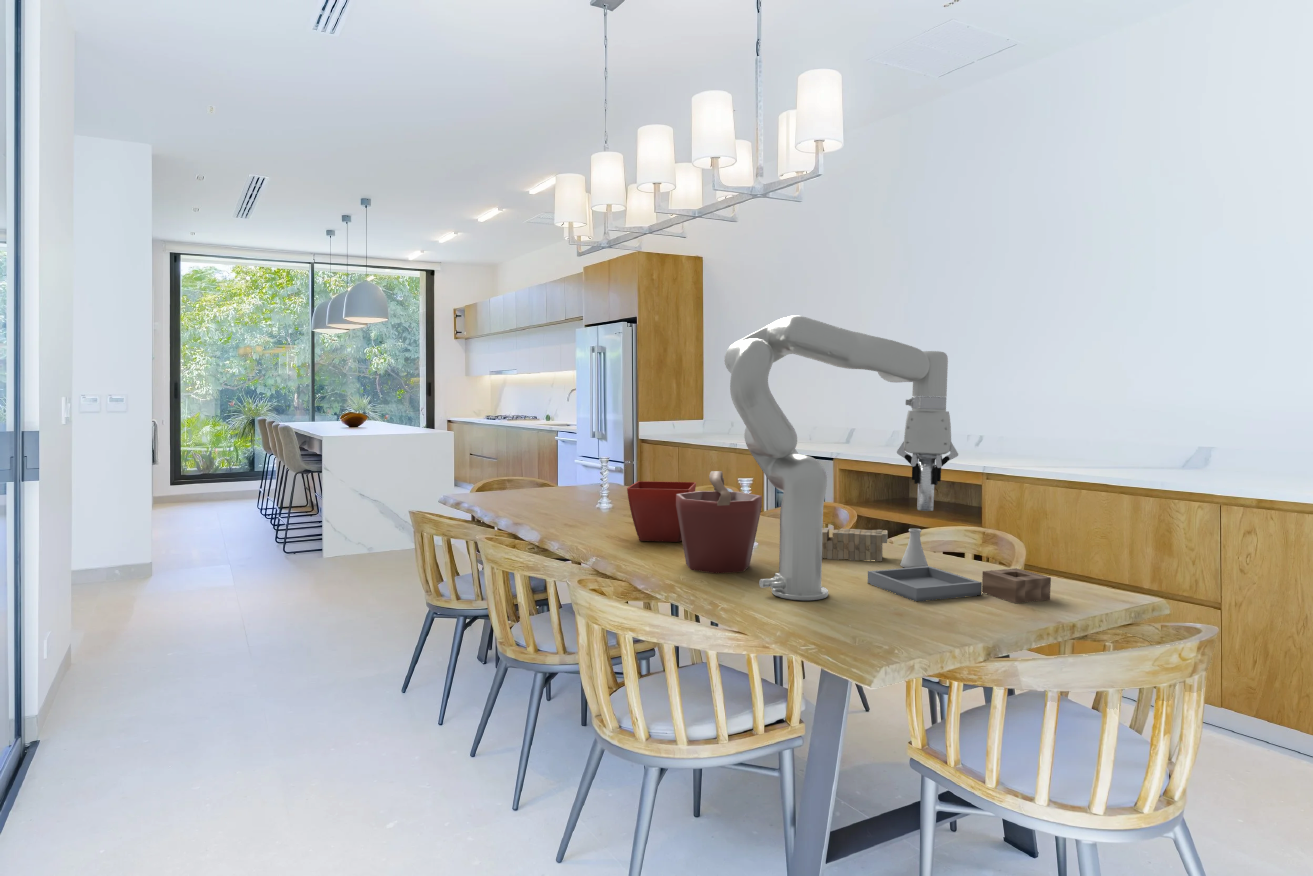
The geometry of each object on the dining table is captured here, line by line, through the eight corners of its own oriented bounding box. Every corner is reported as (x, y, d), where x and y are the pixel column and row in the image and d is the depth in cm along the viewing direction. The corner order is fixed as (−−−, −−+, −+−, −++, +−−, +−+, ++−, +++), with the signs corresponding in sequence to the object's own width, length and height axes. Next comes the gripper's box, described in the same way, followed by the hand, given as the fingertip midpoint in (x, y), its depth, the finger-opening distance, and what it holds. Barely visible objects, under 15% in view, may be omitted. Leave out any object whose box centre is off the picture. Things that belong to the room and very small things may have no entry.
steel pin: (923, 511, 184) (925, 454, 184) (908, 508, 189) (910, 452, 188) (941, 511, 186) (943, 453, 185) (926, 507, 191) (929, 452, 190)
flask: (930, 570, 209) (931, 532, 208) (900, 569, 210) (901, 531, 210) (926, 564, 216) (927, 527, 215) (898, 563, 218) (899, 526, 217)
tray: (916, 601, 177) (916, 588, 177) (867, 583, 194) (867, 571, 194) (981, 595, 183) (981, 582, 183) (928, 578, 200) (929, 566, 200)
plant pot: (625, 542, 243) (626, 487, 243) (637, 532, 262) (638, 480, 261) (688, 545, 240) (689, 489, 239) (695, 534, 259) (696, 482, 258)
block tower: (779, 559, 226) (887, 563, 218) (779, 529, 226) (887, 532, 218) (783, 554, 234) (887, 557, 226) (782, 525, 233) (887, 527, 225)
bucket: (746, 580, 197) (747, 478, 195) (660, 572, 204) (661, 474, 202) (765, 560, 220) (767, 469, 218) (688, 554, 227) (689, 466, 225)
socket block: (1015, 603, 177) (1015, 580, 176) (981, 592, 186) (982, 571, 186) (1050, 599, 180) (1050, 577, 180) (1015, 589, 189) (1016, 568, 189)
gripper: (889, 404, 186) (886, 483, 187) (966, 405, 179) (962, 487, 180) (894, 404, 193) (891, 480, 194) (968, 405, 186) (965, 484, 187)
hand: (926, 483), depth 187 cm, fingers closed on steel pin, 3 cm apart
